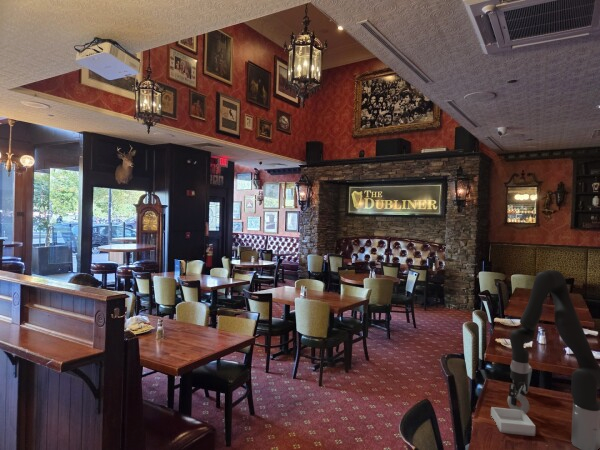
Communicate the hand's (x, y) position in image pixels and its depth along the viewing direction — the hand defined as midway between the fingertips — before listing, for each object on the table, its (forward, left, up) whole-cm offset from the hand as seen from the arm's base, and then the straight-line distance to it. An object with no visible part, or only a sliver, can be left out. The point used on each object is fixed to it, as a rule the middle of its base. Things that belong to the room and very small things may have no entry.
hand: (517, 402), depth 190 cm
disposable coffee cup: (+11, -26, -5) cm, 29 cm away
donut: (0, 0, -5) cm, 5 cm away
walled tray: (-4, +14, -5) cm, 15 cm away
